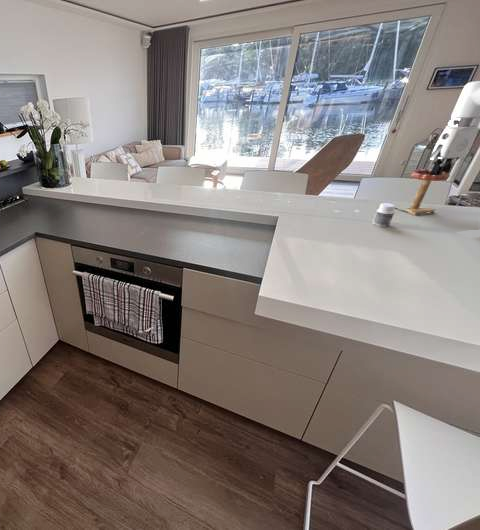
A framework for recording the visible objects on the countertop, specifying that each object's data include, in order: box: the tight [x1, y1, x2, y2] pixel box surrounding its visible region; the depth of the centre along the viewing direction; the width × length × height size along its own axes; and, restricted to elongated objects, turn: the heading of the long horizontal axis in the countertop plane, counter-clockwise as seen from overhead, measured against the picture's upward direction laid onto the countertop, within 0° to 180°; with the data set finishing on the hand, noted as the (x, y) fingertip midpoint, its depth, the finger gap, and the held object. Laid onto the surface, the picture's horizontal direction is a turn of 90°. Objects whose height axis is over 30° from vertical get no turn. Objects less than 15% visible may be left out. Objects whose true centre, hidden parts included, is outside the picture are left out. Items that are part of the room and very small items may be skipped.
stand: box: [406, 180, 436, 216], centre depth 112 cm, size 8×8×13 cm
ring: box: [409, 168, 451, 182], centre depth 108 cm, size 10×10×2 cm
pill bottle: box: [371, 202, 396, 228], centre depth 103 cm, size 5×5×8 cm
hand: (438, 175), depth 109 cm, fingers closed on ring, 2 cm apart
